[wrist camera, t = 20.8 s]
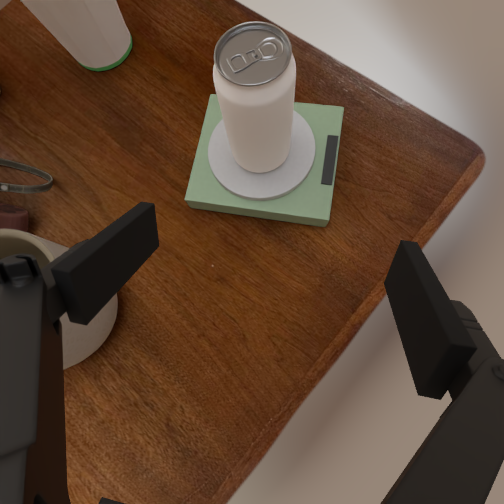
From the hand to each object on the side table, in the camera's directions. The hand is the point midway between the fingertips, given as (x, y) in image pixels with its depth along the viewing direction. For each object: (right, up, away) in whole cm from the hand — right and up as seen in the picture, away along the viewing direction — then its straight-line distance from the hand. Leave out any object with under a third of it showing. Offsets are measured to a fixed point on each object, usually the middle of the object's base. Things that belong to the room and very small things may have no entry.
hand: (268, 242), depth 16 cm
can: (0, +11, +17) cm, 20 cm away
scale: (+1, +10, +20) cm, 22 cm away
